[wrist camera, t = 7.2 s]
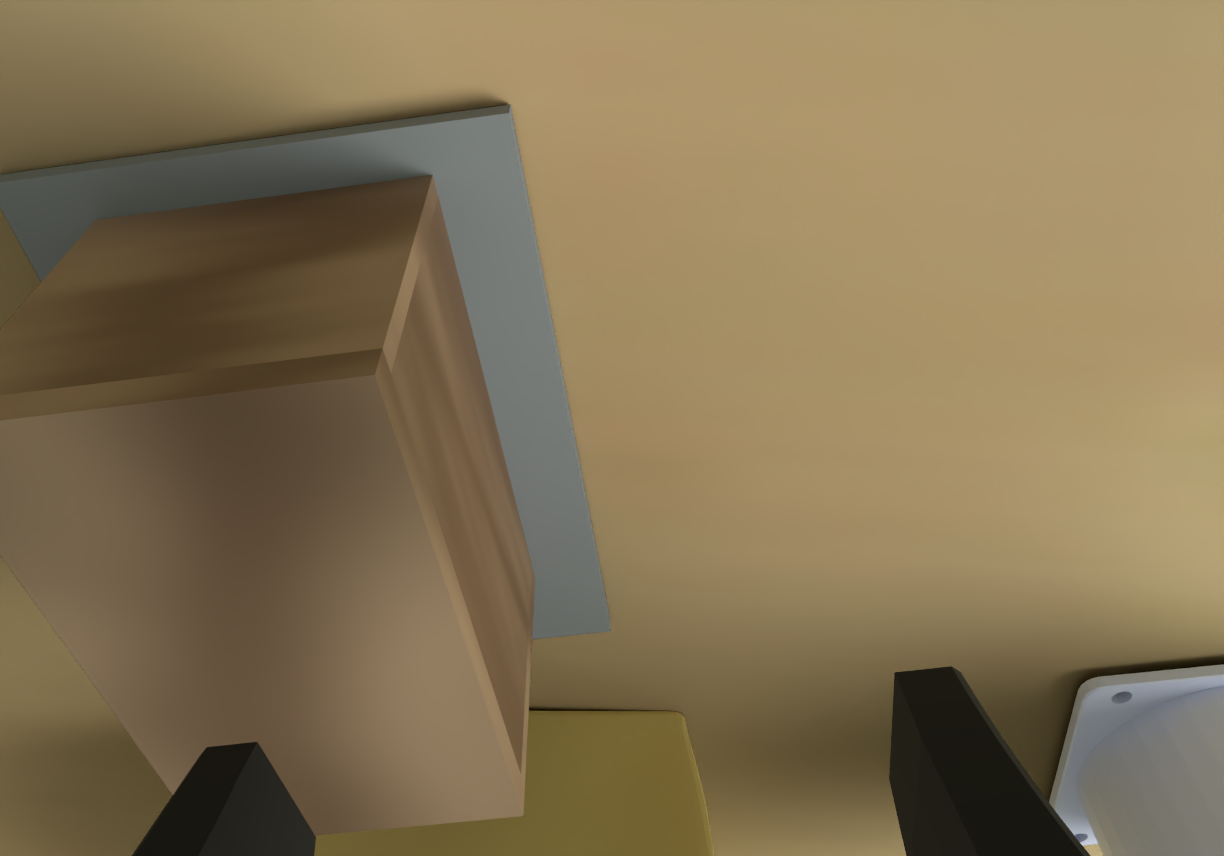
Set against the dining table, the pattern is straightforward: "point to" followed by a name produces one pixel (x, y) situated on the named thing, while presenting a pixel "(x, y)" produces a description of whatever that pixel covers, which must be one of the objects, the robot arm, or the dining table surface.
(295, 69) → the dining table surface
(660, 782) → the cheese
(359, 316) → the walnut cover
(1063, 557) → the dining table surface
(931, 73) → the dining table surface
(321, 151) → the mat
